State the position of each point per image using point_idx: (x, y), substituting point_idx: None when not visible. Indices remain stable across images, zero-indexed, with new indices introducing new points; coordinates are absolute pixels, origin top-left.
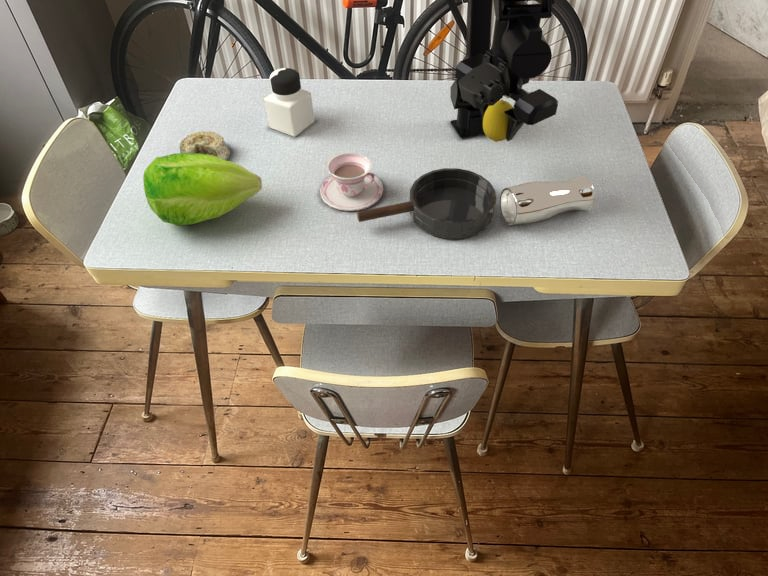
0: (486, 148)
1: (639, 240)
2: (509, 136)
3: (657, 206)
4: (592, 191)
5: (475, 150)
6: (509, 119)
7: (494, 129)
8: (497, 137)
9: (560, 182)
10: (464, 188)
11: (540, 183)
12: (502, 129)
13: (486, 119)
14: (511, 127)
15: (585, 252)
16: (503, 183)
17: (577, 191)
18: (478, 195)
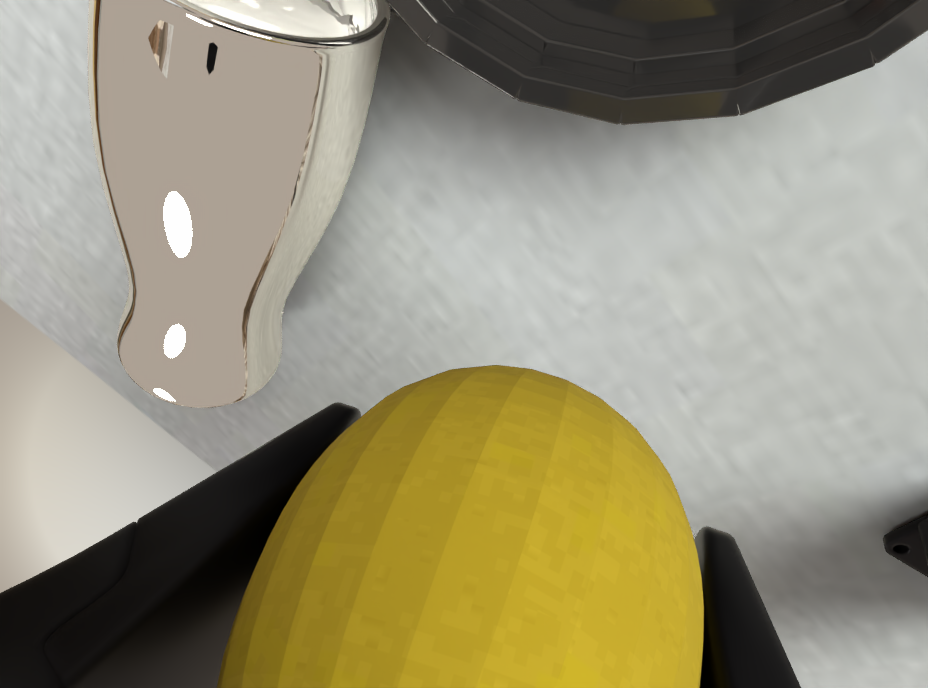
0: (833, 441)
1: (30, 256)
2: (268, 442)
3: (146, 415)
4: (117, 343)
5: (892, 404)
6: (40, 665)
7: (371, 463)
8: (395, 392)
9: (188, 315)
10: (752, 22)
11: (178, 230)
12: (300, 495)
13: (523, 603)
14: (117, 540)
15: (11, 62)
16: (573, 246)
17: (130, 308)
18: (614, 31)
